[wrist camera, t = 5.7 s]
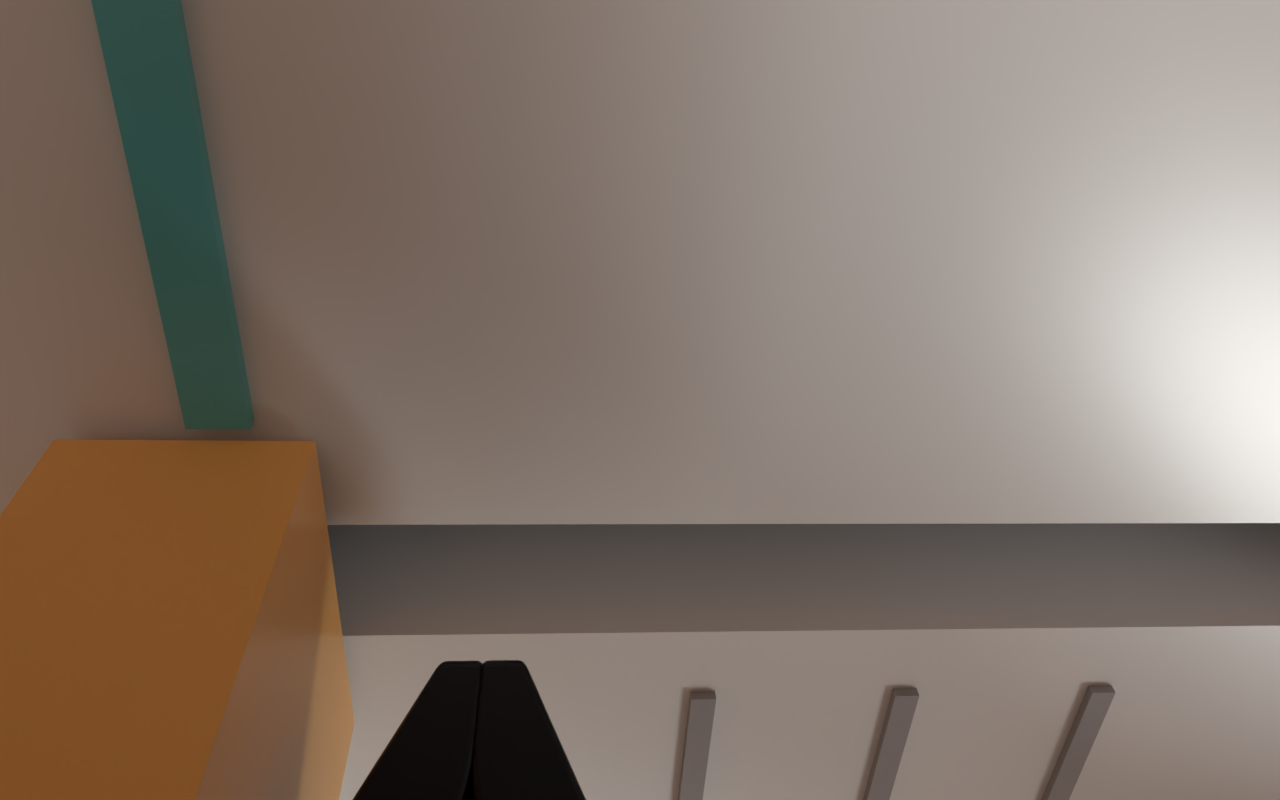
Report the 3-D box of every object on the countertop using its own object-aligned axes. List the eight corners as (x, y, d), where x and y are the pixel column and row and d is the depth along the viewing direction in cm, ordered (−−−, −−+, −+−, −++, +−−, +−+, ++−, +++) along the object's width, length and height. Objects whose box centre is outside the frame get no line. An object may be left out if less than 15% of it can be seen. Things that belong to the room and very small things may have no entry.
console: (1718, -212, 11) (2105, -194, 8) (1189, 788, 19) (1290, 957, 17) (-398, -352, 9) (-802, -388, 6) (61, 816, 18) (-27, 1011, 15)
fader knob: (354, 325, 12) (194, 801, 7) (382, 585, 14) (276, 1102, 9) (136, 321, 12) (-210, 812, 6) (199, 586, 14) (-22, 1117, 9)
